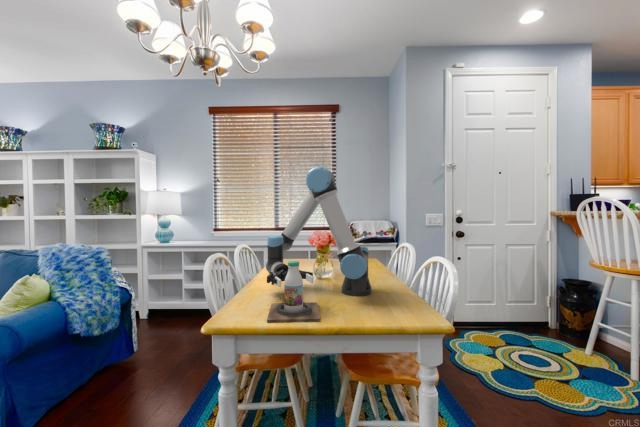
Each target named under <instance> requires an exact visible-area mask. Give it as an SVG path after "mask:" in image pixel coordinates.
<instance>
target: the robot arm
mask: <svg viewBox="0 0 640 427" xmlns="http://www.w3.org/2000/svg"><path fill="white" fill-rule="evenodd" d="M305 184H306V186H307V188H308V193H307V195H306V196H305V198H304V200H303V201H302V203H301V204H300V205H299V207H298V209H297V210H296V211H295V213H294V214H293V216H292V218H291V219H290V220H289V221H288V223H287V225H286V227H285V228H284V230H283V231H282V233H281V234H280V235H279V234H274V235H273V234H272V235H269V236H267V243H266V244H267V261H266V263H265V269H266V272H268V274H267V276H266V284H270V283H271V285H272V286H274V285H276V286H277V287H279V288H282V282H285V278H286V275H287V273H288V269H289V268H288V264H286V263H284V252H286V251H289V250H290V249H291V248H292V247H293V244H294V241H295V240H296V239H297V237H298V236H299V234H300V232H301V231H302V230H303V228H304V227H305V225H306V224H307V223H308V221H309V219H311V217H312V215H313V214H314V212H315V211H316V209H317V208H318V206H319V205H320V208H321V210H322V213H323V215H324V218H325V221H326V223H327V225H328V227H329V230H330V233H331V235H332V238H333V241H334V243H335V245H336V247H337V252H336V257H337V259H338V261H339V268H340V272H341V274H342V275H343V276H344V279H343V281H342V285H341V293H342V294H344V295H347V296H354V297H356V296H357V297H361V296H362V297H363V296H369V295H371V294H372V291H373V290H372V285H371V282H370V278H369V248H368V247H367V246H361V244H359V243H357V242H356V241H355V239H354V236H353V233H352V231H351V228H350V227H349V223H348V221H347V219H346V216H345V213H344V211H343V209H342V206H341V204H340V202H339V199H338V196H337V193H338V188H337V185H336V177H335V175H334V173H333V172H331V171H330V170H329V169H328V168H326V167H325V166H315V167H312V168H310V169H309V171H308V172H307V174H306V176H305ZM299 272H300V275H301V277H302V280H305V281H307V282H308V283H309V284H314V273H313V272H312V271H306V270H301V269H299Z"/></svg>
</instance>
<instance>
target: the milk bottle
mask: <svg viewBox="0 0 640 427" xmlns="http://www.w3.org/2000/svg"><path fill="white" fill-rule="evenodd" d="M287 265H288V268H289V269H288V273H287V275H286V278H285V281H283V282H284V283H283V284H284V285H283V286H284V287H283V295H284V296H283V301H284V302H283V303H284V310H285V311H301V310H303V302H304V281H303V280H304V279H302V277H301V275H300V272H299V270H300V262H299V261H297V260H290V261H288V262H287Z"/></svg>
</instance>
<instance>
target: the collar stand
mask: <svg viewBox="0 0 640 427" xmlns="http://www.w3.org/2000/svg"><path fill="white" fill-rule="evenodd" d="M318 304H319V303H318V302H317V301H315V302H313V301H311V302H305V301H303V310H301V311H285V310H284V302H273V303H271V304H270V308H269V311H268V314H267V317H266V318H267V319H266V323H302V322H303V323H304V322H305V323H306V322H311V323H312V322H321V316H320V311H319V305H318Z"/></svg>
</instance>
